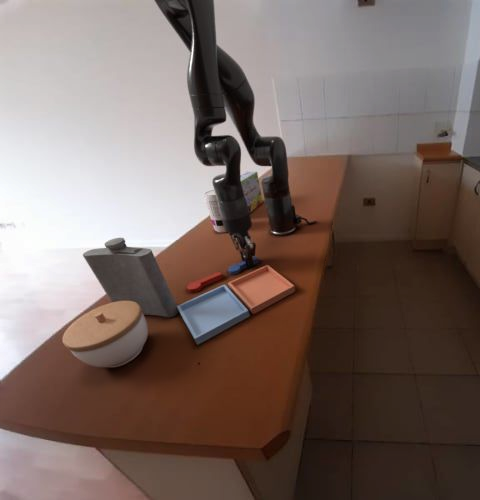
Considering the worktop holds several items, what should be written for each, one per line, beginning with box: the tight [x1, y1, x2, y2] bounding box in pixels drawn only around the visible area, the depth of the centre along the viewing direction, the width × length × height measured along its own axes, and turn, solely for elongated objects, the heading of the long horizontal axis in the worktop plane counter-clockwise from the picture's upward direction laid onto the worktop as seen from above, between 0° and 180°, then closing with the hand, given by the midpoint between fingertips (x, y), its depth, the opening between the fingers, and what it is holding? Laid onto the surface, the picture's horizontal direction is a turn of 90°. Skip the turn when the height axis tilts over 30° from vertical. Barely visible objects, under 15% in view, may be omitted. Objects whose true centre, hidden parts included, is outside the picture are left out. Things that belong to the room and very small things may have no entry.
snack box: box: [240, 171, 264, 214], centre depth 121 cm, size 21×6×15 cm, turn 168°
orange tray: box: [227, 264, 296, 315], centre depth 74 cm, size 12×14×2 cm
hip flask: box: [82, 237, 180, 318], centre depth 65 cm, size 16×4×20 cm, turn 83°
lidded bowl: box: [61, 301, 149, 368], centre depth 56 cm, size 13×13×11 cm
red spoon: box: [187, 271, 224, 294], centre depth 78 cm, size 9×4×2 cm, turn 131°
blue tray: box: [177, 284, 251, 345], centre depth 67 cm, size 12×14×2 cm
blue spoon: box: [227, 255, 260, 276], centre depth 84 cm, size 9×4×2 cm, turn 131°
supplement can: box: [204, 189, 227, 234], centre depth 106 cm, size 8×8×15 cm
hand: (248, 265), depth 85 cm, fingers closed on blue spoon, 2 cm apart
